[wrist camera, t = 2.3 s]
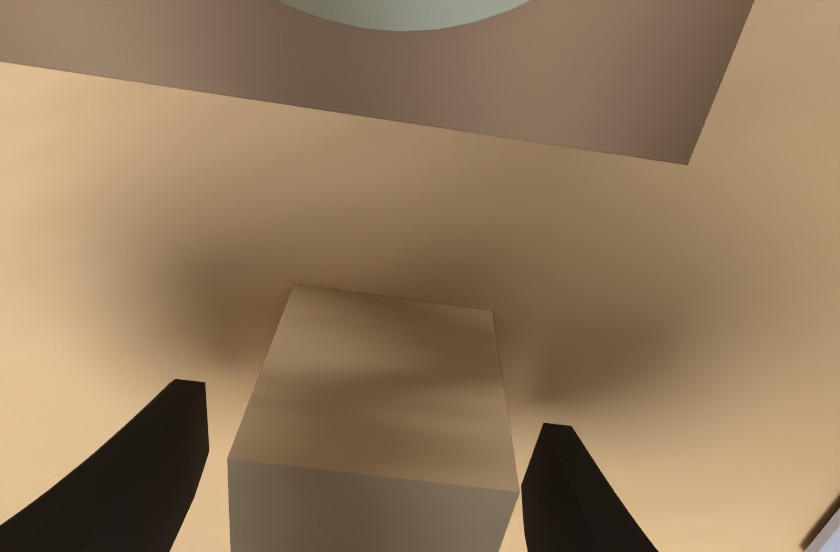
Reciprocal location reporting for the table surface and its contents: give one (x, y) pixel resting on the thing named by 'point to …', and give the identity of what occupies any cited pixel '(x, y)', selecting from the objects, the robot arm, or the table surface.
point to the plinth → (416, 60)
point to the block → (374, 431)
